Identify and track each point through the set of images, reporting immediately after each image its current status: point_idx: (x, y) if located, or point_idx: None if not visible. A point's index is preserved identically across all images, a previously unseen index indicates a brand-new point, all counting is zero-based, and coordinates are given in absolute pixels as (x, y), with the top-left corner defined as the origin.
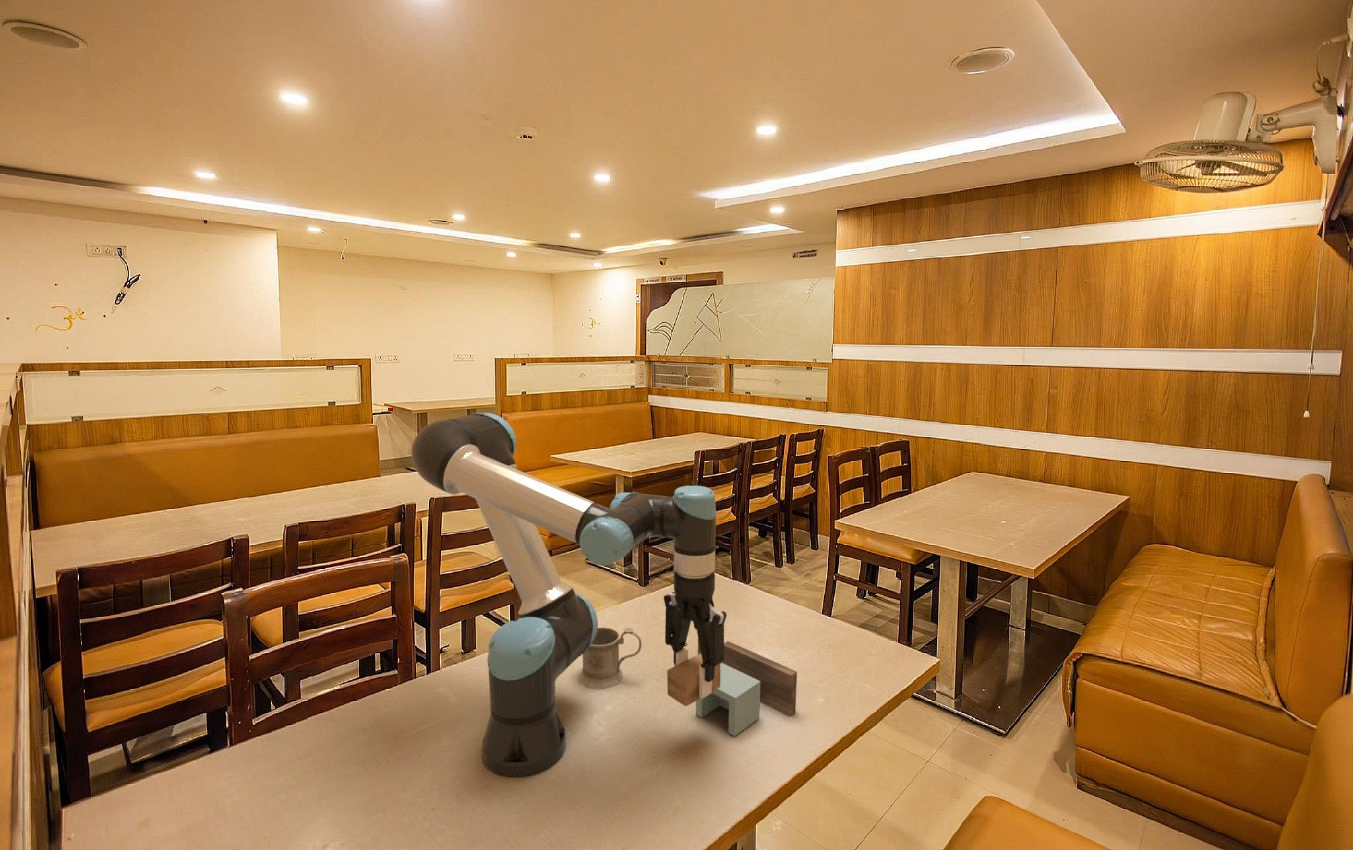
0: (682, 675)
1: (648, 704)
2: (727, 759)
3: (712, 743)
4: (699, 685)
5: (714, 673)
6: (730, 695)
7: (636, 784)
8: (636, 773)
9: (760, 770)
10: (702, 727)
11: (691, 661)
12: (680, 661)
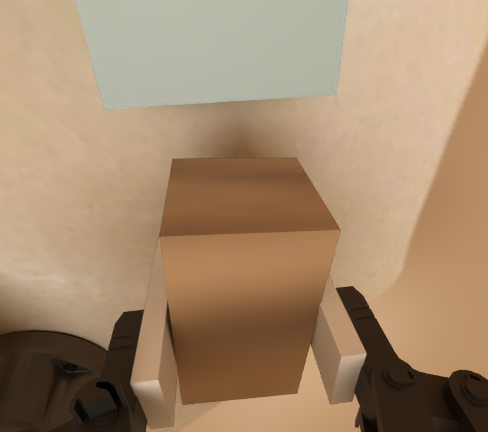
0: (259, 387)
1: (6, 147)
2: (325, 148)
3: (262, 133)
4: None
5: (371, 311)
6: (308, 96)
7: None
8: None
9: (406, 119)
10: (196, 104)
11: (199, 322)
12: (174, 369)
